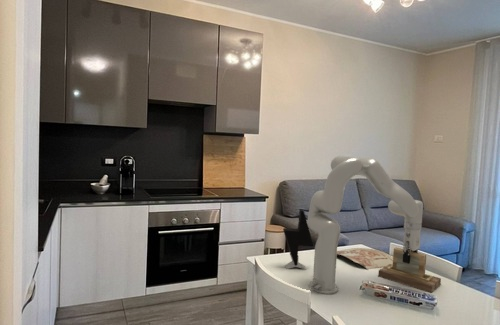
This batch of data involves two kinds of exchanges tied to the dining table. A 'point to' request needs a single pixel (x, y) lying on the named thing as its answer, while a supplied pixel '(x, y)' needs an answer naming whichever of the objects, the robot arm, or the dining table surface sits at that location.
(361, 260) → the poster
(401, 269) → the wooden plaque
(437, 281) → the display stand
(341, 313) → the dining table surface
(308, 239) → the award
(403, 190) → the robot arm
